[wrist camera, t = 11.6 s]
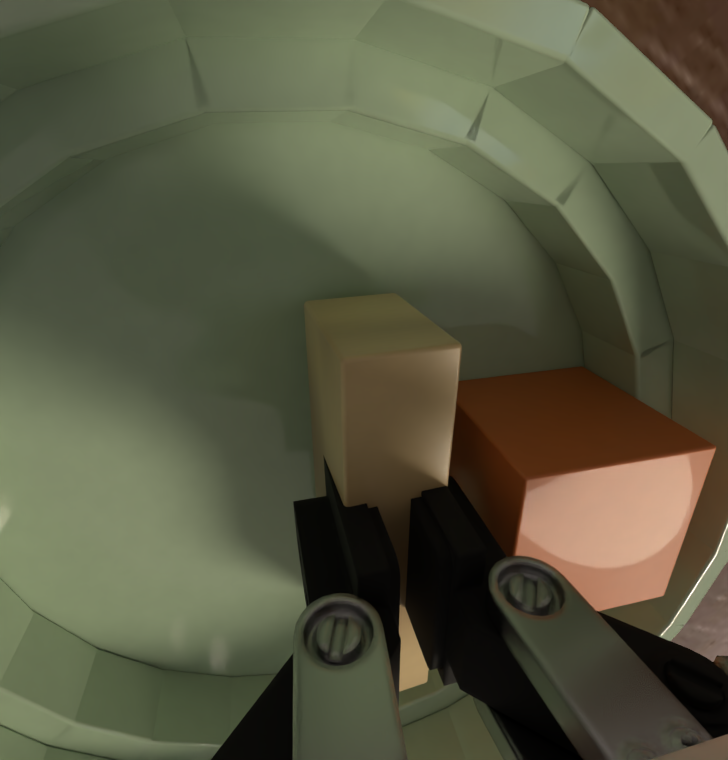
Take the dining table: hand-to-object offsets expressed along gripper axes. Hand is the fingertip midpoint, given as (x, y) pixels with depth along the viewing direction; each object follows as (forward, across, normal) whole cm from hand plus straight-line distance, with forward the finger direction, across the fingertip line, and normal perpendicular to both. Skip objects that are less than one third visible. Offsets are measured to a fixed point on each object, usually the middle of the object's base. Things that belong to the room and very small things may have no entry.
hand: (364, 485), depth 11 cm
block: (+1, -4, 0) cm, 4 cm away
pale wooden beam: (+1, 0, 0) cm, 1 cm away
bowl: (+2, +1, 0) cm, 2 cm away
